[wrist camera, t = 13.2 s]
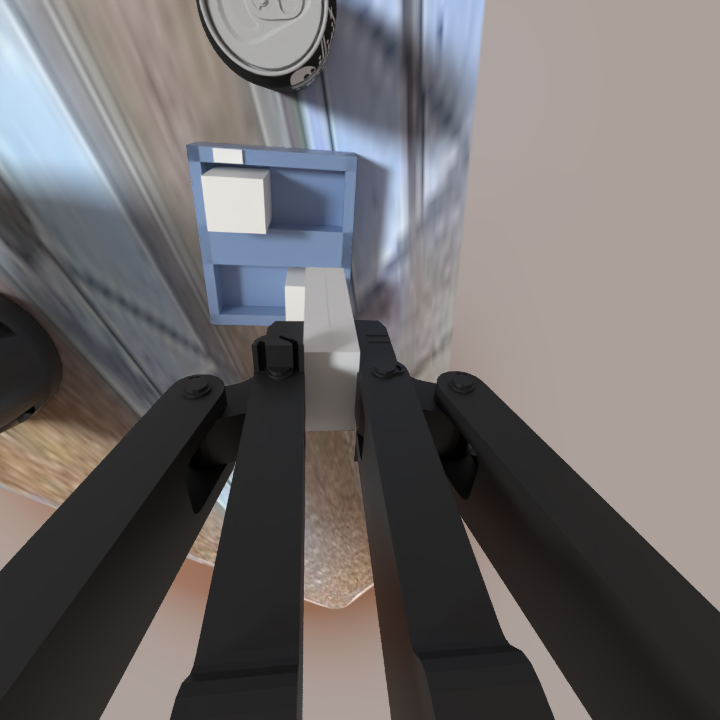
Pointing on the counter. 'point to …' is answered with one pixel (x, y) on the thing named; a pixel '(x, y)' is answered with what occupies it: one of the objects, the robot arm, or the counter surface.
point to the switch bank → (275, 227)
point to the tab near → (237, 199)
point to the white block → (295, 293)
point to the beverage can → (271, 39)
